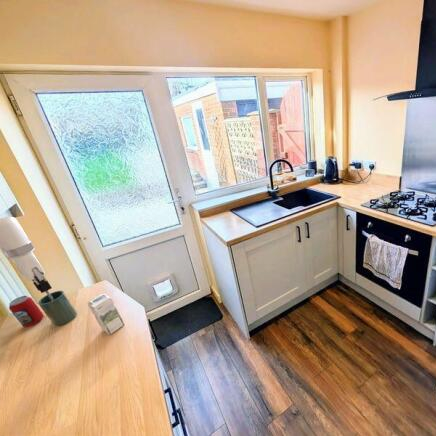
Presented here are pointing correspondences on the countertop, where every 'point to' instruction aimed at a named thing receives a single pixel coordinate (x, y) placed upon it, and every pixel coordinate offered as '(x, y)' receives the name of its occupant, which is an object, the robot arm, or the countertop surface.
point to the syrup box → (106, 313)
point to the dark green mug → (58, 308)
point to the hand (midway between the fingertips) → (45, 289)
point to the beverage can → (26, 311)
